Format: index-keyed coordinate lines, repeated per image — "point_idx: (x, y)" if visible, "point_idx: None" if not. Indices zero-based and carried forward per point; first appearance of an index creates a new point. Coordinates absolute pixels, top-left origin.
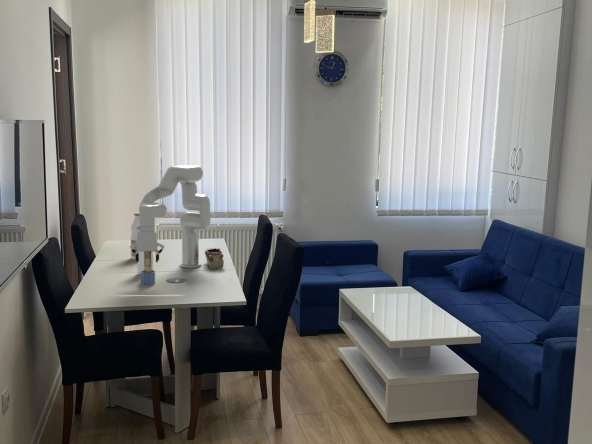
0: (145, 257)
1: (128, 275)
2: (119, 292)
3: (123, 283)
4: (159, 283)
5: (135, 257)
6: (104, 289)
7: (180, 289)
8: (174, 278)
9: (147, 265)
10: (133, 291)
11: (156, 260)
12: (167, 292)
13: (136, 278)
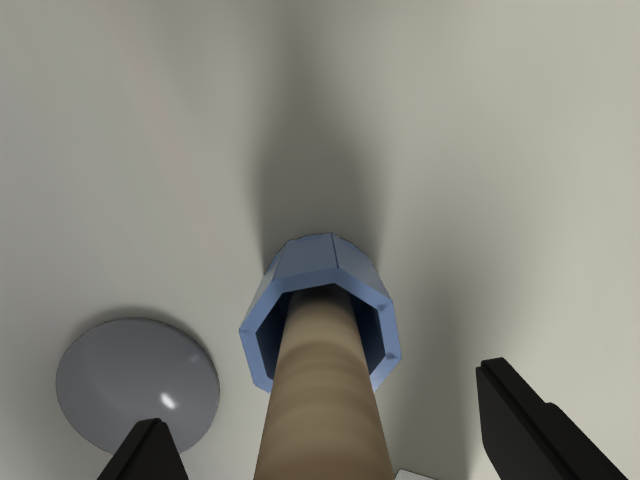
0: (353, 473)
1: None
2: (482, 9)
3: (516, 283)
4: None
5: (593, 444)
6: (633, 82)
7: (18, 202)
8: (173, 439)
9: (309, 355)
10: (371, 66)
11: (132, 443)
12: (77, 92)
13: (455, 419)
